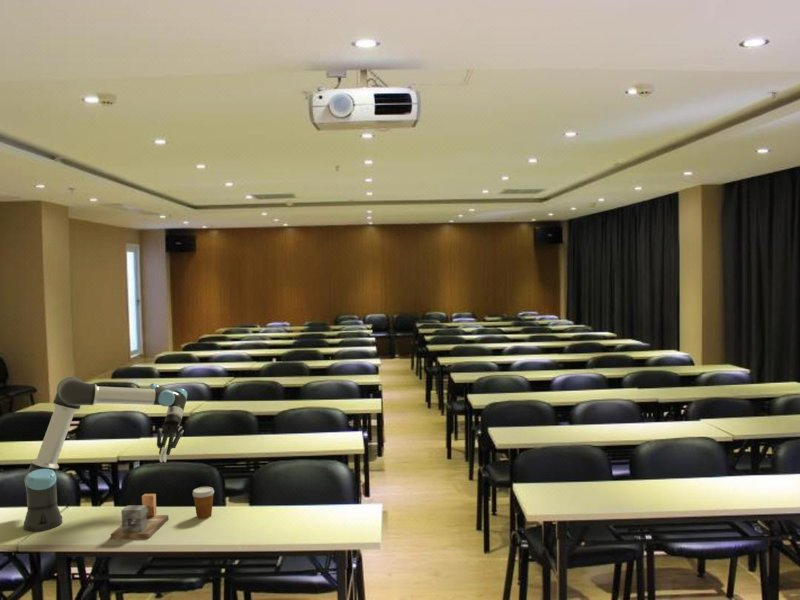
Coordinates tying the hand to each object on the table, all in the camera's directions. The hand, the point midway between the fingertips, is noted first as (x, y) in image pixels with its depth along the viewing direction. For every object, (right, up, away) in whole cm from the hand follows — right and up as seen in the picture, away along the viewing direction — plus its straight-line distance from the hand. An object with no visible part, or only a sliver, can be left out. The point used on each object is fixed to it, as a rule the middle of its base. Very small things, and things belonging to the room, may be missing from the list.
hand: (162, 460), depth 326 cm
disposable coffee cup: (+23, -22, -12) cm, 34 cm away
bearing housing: (0, -23, -27) cm, 36 cm away
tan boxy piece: (0, -20, -21) cm, 30 cm away
